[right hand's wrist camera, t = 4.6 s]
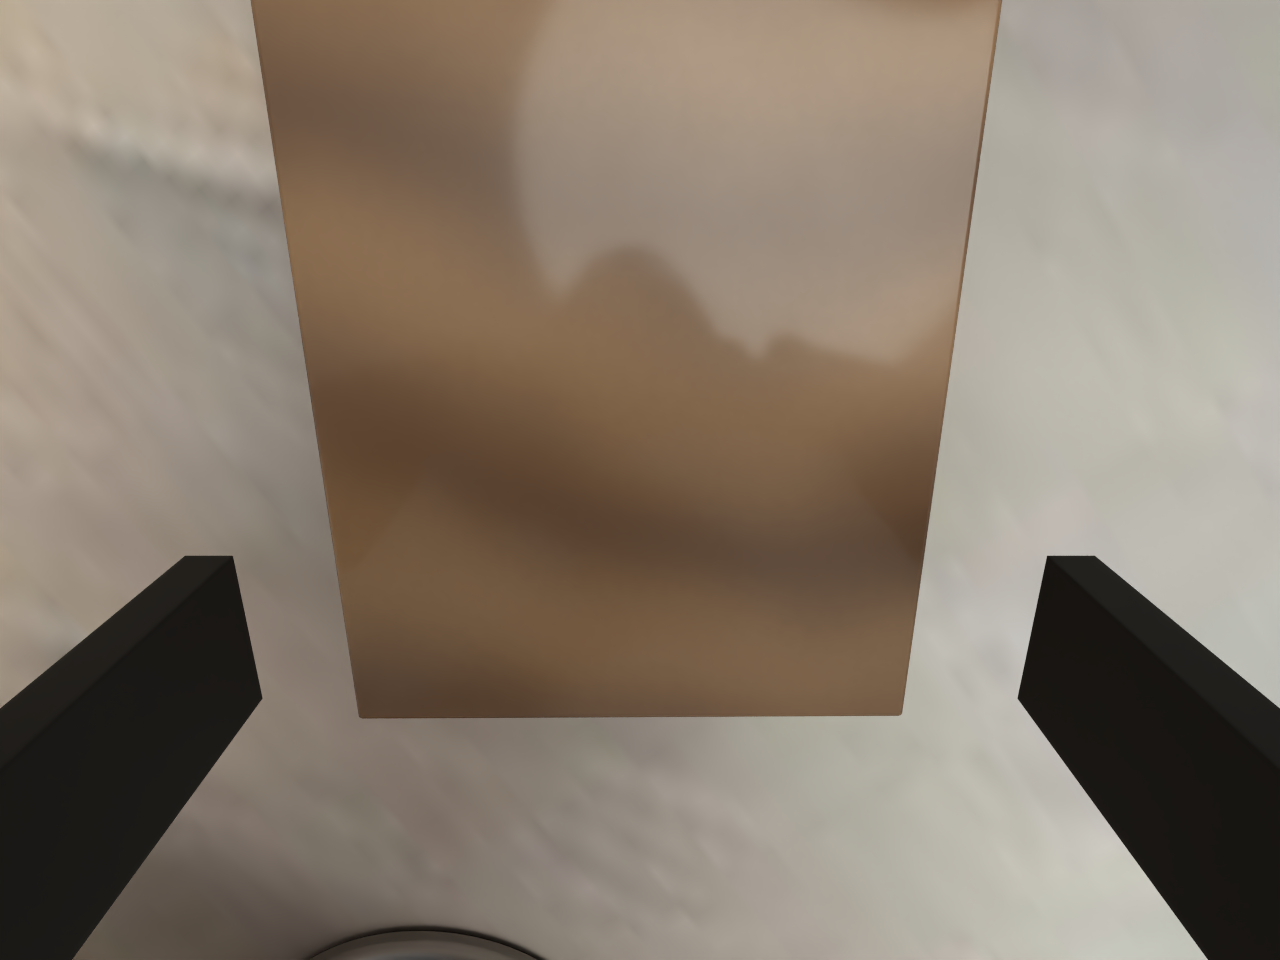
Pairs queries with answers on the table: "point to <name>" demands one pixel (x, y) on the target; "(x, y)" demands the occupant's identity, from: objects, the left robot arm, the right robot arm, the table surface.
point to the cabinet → (628, 339)
